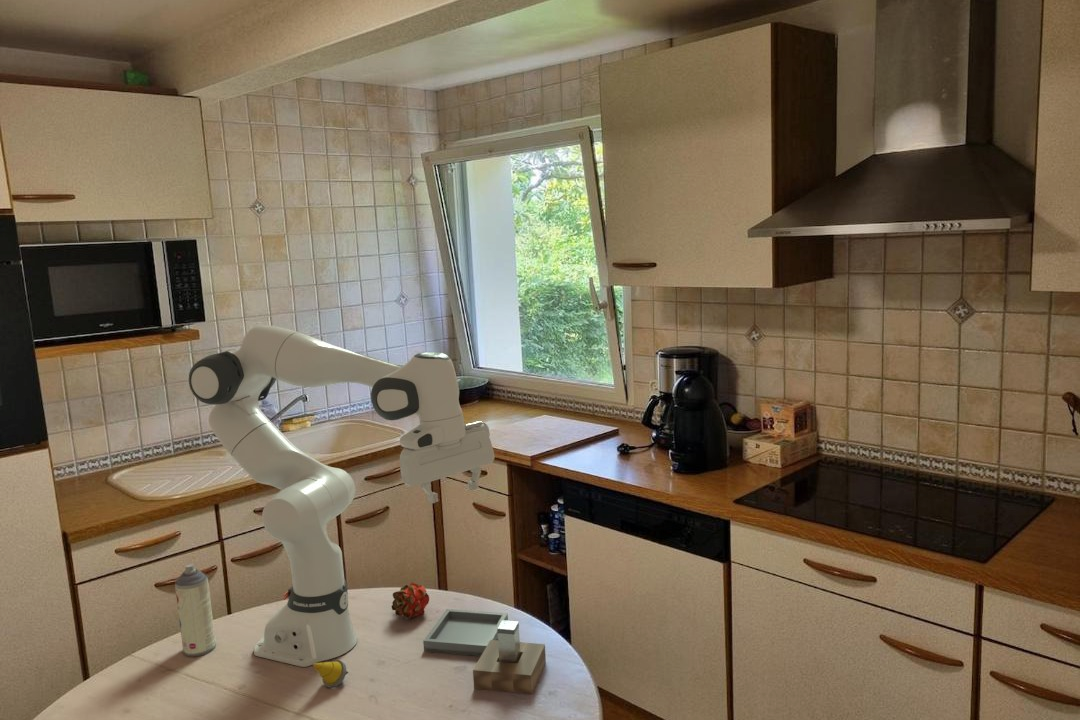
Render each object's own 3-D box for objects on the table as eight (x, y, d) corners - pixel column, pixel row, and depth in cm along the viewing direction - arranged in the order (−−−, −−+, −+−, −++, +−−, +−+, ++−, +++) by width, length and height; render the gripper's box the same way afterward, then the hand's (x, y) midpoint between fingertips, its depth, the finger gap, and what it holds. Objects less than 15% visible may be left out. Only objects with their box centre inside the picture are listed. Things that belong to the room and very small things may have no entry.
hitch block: (474, 688, 159) (472, 670, 159) (491, 657, 171) (490, 639, 170) (532, 694, 156) (531, 675, 156) (545, 661, 168) (544, 644, 167)
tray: (424, 651, 174) (423, 640, 174) (447, 618, 189) (446, 608, 188) (489, 656, 171) (488, 646, 170) (508, 623, 185) (507, 613, 185)
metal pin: (500, 678, 162) (497, 628, 161) (505, 669, 166) (502, 620, 164) (516, 680, 161) (514, 629, 160) (521, 671, 165) (518, 621, 163)
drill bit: (354, 686, 163) (322, 672, 156) (333, 695, 164) (301, 681, 157) (355, 661, 166) (323, 646, 160) (334, 669, 168) (302, 655, 161)
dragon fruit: (400, 634, 186) (416, 617, 198) (428, 613, 185) (442, 597, 196) (379, 604, 186) (396, 589, 198) (406, 583, 185) (422, 569, 197)
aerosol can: (190, 642, 183) (180, 560, 180) (220, 640, 183) (210, 558, 180) (178, 657, 176) (167, 572, 173) (209, 656, 177) (198, 571, 173)
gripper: (479, 418, 170) (489, 480, 172) (392, 440, 159) (403, 507, 161) (494, 420, 165) (504, 484, 167) (405, 443, 154) (416, 512, 156)
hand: (454, 495), depth 164 cm, fingers open, 8 cm apart
